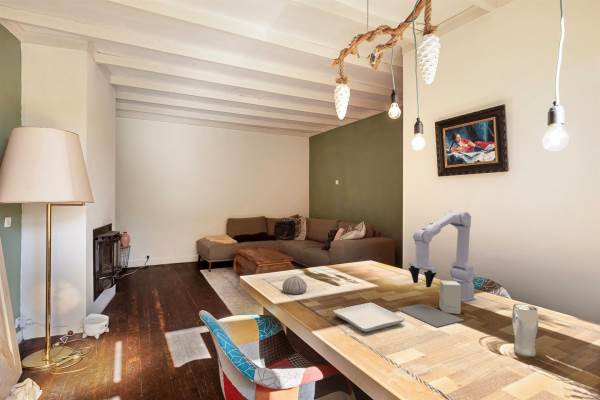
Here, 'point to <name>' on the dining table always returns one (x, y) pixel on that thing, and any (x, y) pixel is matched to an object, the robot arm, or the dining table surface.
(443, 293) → the supplement box
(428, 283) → the robot arm
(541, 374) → the dining table surface
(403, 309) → the mat
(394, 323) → the salad plate
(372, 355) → the dining table surface
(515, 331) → the beer glass
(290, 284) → the sea urchin shell
